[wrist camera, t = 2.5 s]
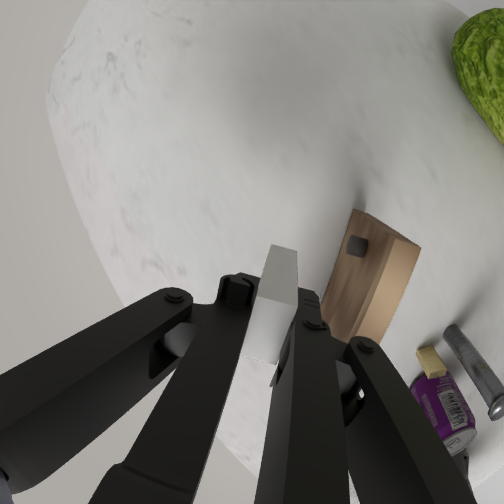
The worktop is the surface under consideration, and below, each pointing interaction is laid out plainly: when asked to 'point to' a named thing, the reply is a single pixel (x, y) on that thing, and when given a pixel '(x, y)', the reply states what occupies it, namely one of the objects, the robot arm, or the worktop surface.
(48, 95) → the worktop surface
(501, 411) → the post
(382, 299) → the gate
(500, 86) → the lettuce
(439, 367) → the tan textured block
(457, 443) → the beverage can
